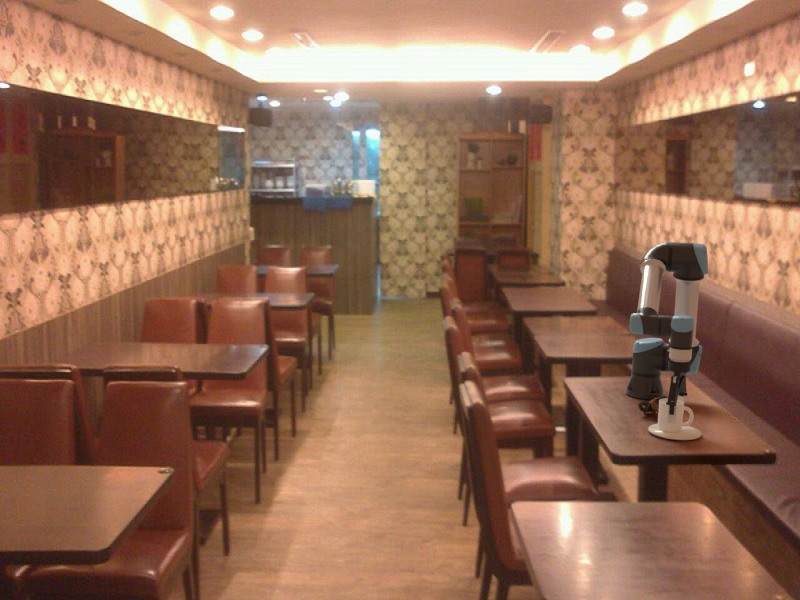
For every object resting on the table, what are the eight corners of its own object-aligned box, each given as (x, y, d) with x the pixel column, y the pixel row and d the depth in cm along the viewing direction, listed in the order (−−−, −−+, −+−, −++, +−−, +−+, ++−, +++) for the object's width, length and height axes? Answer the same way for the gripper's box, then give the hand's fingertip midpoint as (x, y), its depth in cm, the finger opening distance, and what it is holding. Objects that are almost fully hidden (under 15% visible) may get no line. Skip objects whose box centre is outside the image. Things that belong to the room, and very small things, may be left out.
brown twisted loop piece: (661, 413, 355) (671, 398, 351) (665, 430, 348) (675, 415, 343) (632, 405, 354) (641, 390, 349) (636, 422, 346) (645, 407, 342)
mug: (692, 428, 331) (694, 400, 329) (693, 435, 323) (695, 406, 321) (657, 425, 334) (659, 397, 332) (657, 431, 326) (659, 403, 324)
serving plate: (654, 423, 340) (654, 420, 340) (705, 431, 332) (705, 428, 332) (642, 436, 324) (643, 433, 324) (695, 444, 316) (695, 441, 316)
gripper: (676, 351, 336) (672, 408, 340) (660, 365, 315) (656, 425, 318) (697, 354, 333) (693, 411, 336) (683, 368, 311) (679, 429, 315)
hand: (675, 418), depth 327 cm, fingers open, 13 cm apart
